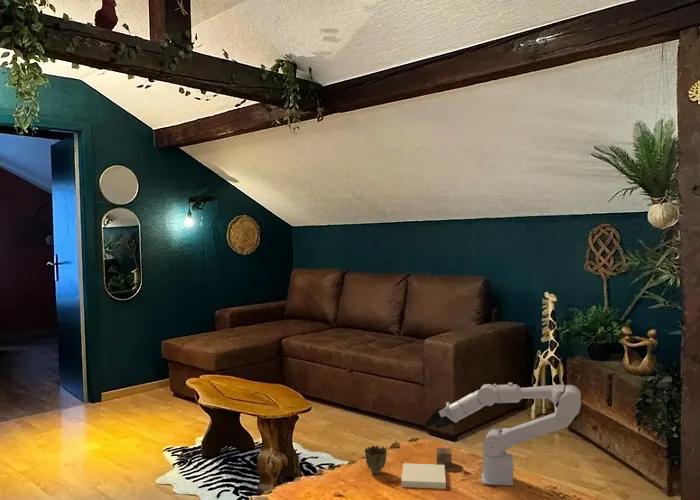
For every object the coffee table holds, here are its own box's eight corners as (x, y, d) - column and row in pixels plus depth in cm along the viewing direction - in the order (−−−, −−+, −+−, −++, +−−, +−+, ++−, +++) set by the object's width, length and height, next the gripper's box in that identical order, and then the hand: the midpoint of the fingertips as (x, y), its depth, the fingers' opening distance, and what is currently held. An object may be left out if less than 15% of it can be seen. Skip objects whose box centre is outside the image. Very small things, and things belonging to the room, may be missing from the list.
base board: (444, 470, 206) (444, 464, 206) (445, 488, 192) (445, 482, 192) (403, 468, 207) (403, 463, 207) (401, 486, 194) (401, 480, 193)
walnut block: (450, 462, 213) (450, 448, 213) (451, 468, 208) (451, 453, 208) (436, 461, 213) (436, 448, 213) (436, 467, 208) (436, 453, 208)
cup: (361, 474, 203) (360, 451, 203) (370, 466, 210) (370, 444, 209) (381, 479, 200) (381, 455, 199) (390, 470, 206) (390, 447, 206)
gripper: (467, 397, 208) (434, 415, 212) (450, 394, 196) (416, 412, 201) (476, 416, 204) (443, 434, 209) (460, 414, 193) (425, 433, 197)
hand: (430, 425), depth 204 cm, fingers open, 7 cm apart
